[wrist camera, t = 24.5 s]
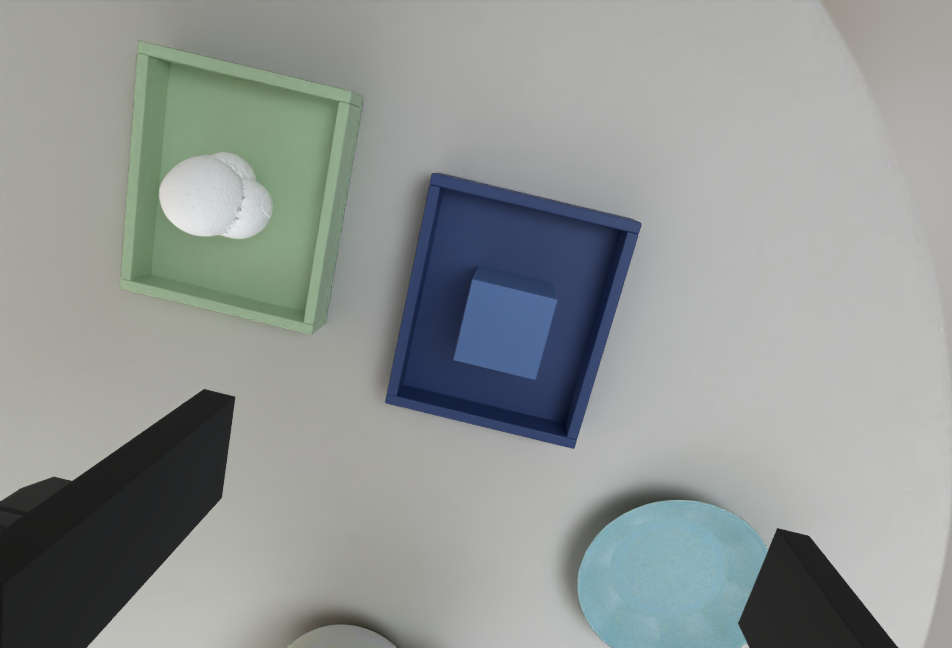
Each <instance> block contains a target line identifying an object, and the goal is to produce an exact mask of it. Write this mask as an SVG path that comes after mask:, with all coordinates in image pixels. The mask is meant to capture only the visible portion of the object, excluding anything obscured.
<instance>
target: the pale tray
mask: <svg viewBox="0 0 952 648" xmlns="http://www.w3.org/2000/svg"><path fill="white" fill-rule="evenodd" d="M363 99H364V97H363V96H360V95H358V94H356V93H354V92H352V91H349V90H344V89H340V88H336V87H332V86H328V85H323V84H319V83H315V82H311V81H307V80H302V79H298V78H294V77H290V76H286V75H281V74H277V73H273V72H269V71H265V70H260V69H256V68H252V67H248V66H244V65H239V64H235V63H231V62H227V61H223V60H218V59H214V58H210V57H206V56H202V55H197V54H193V53H189V52H185V51H181V50H176V49H172V48H168V47H164V46H160V45H156V44H151V43H147V42H143V41H138V54H137V65H136V79H135V92H134V105H133V118H132V132H131V145H130V158H129V172H128V185H127V198H126V212H125V225H124V238H123V252H122V265H121V280H120V288H121V289H125V290H129V291H133V292H138V293H142V294H146V295H150V296H154V297H158V298H162V299H167V300H171V301H175V302H179V303H183V304H187V305H191V306H196V307H200V308H204V309H208V310H212V311H216V312H220V313H224V314H229V315H233V316H237V317H241V318H245V319H249V320H253V321H258V322H262V323H266V324H270V325H274V326H278V327H282V328H287V329H291V330H295V331H299V332H303V333H307V334H313V333H314V332H315V331H317V330H318V329H319V328H320V327H322V326H323V325H324V324H325V322H326V317H327V311H328V305H329V299H330V293H331V287H332V281H333V275H334V270H335V264H336V258H337V252H338V246H339V240H340V234H341V228H342V223H343V217H344V211H345V205H346V199H347V193H348V187H349V181H350V175H351V170H352V164H353V158H354V152H355V146H356V140H357V134H358V128H359V123H360V117H361V111H362V105H363ZM219 152H229V153H232V154H235V155H238V156H239V157H241V158H242V159H244V160H245V161H246V162H247V163H248V164H249V165H250V166H251V168H252V169H253V171H254V173H255V176H256V181H257V182H258V183H260V184H261V185H262V186H264V188H265V189H266V190H267V191H268V192H269V194H270V196H271V199H272V202H273V212H272V216H271V218H270V220H269V222H268V224H267V225H266V226H265V228H264V229H263V230H262V231H260V232H259V233H257V234H256V235H254V236H252V237H249V238H245V239H233V238H229V237H225V236H222V235H214V236H196V235H192V234H189V233H186V232H184V231H182V230H181V229H179V228H178V227H176V226H175V225H174V224H173V223H172V222H171V221H169V219H168V218H167V217H166V215H165V213H164V211H163V209H162V207H161V203H160V199H159V189H160V185H161V183H162V181H163V179H164V177H165V176H166V175H167V173H168V172H169V171H170V170H171V169H173V168H174V167H175V166H176V165H177V164H179V163H181V162H182V161H184V160H186V159H189V158H191V157H195V156H202V155H212V154H215V153H219ZM267 229H268V230H267Z"/></svg>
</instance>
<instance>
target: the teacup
mask: <svg viewBox="0 0 952 648" xmlns="http://www.w3.org/2000/svg"><path fill="white" fill-rule="evenodd" d="M287 648H396V647H395V646H394V645H393V644H392V643H391V642H390V641H388V640H387V639H386V638H384V637H383V636H381V635H379V634H378V633H375V632H373V631H371V630H368V629H365V628H362V627H359V626H353V625H329V626H323V627H320V628H317V629H314V630H312V631H310V632H307V633H306V634H304V635H302V636H301V637H299V638H298V639H296V640H295V641H294V642H293V643H291V644H290V645H289V646H288V647H287Z"/></svg>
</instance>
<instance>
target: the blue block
mask: <svg viewBox="0 0 952 648" xmlns="http://www.w3.org/2000/svg"><path fill="white" fill-rule="evenodd" d="M557 301H558V300H557V297H556V293H555V290H554V287H553V284H552V283H548V282H544V281H540V280H536V279H532V278H528V277H524V276H519V275H515V274H511V273H507V272H503V271H499V270H495V269H490V268H486V267H482V266H478V267H477V269H476V272H475V274H474V276H473V279H472V282H471V286H470V291H469V295H468V299H467V303H466V308H465V312H464V316H463V320H462V325H461V329H460V333H459V338H458V342H457V346H456V350H455V355H454V360H456V361H460V362H464V363H468V364H472V365H476V366H480V367H484V368H489V369H493V370H497V371H501V372H505V373H509V374H513V375H517V376H521V377H526V378H530V379H534V380H535V379H536V377H537V374H538V370H539V366H540V363H541V359H542V355H543V352H544V348H545V344H546V341H547V337H548V334H549V330H550V326H551V323H552V319H553V315H554V312H555V308H556V304H557Z"/></svg>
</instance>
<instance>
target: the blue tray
mask: <svg viewBox="0 0 952 648" xmlns="http://www.w3.org/2000/svg"><path fill="white" fill-rule="evenodd" d="M430 184H431V185H430V186H429V190H428V195H427V200H426V205H425V210H424V215H423V219H422V224H421V229H420V234H419V239H418V244H417V249H416V254H415V259H414V263H413V268H412V273H411V278H410V283H409V288H408V293H407V298H406V303H405V307H404V312H403V317H402V322H401V327H400V332H399V337H398V342H397V347H396V351H395V356H394V361H393V366H392V371H391V376H390V381H389V386H388V391H387V395H386V400H385V403H387V404H391V405H395V406H399V407H404V408H408V409H412V410H416V411H420V412H424V413H428V414H432V415H437V416H441V417H445V418H449V419H453V420H457V421H461V422H466V423H470V424H474V425H478V426H482V427H486V428H490V429H494V430H499V431H503V432H507V433H511V434H515V435H519V436H523V437H527V438H532V439H536V440H540V441H544V442H548V443H552V444H556V445H560V446H565V447H569V448H573V449H574V448H575V444H576V441H577V438H578V434H579V431H580V428H581V424H582V421H583V418H584V414H585V411H586V408H587V404H588V401H589V398H590V394H591V391H592V388H593V384H594V381H595V378H596V374H597V371H598V368H599V365H600V361H601V358H602V355H603V351H604V348H605V345H606V341H607V338H608V335H609V331H610V328H611V325H612V321H613V318H614V315H615V311H616V308H617V305H618V301H619V298H620V295H621V291H622V288H623V285H624V281H625V278H626V275H627V271H628V268H629V265H630V261H631V258H632V255H633V251H634V248H635V245H636V241H637V238H638V234H639V231H640V228H641V225H642V224H641V223H640V222H638V221H636V220H633V219H630V218H626V217H622V216H618V215H613V214H609V213H605V212H601V211H597V210H592V209H588V208H584V207H580V206H576V205H572V204H567V203H563V202H559V201H555V200H551V199H546V198H542V197H538V196H534V195H530V194H526V193H521V192H517V191H513V190H509V189H505V188H500V187H496V186H492V185H488V184H484V183H480V182H475V181H471V180H467V179H463V178H459V177H454V176H450V175H446V174H442V173H432V175H431V180H430ZM478 266H482V267H486V268H490V269H495V270H499V271H503V272H507V273H511V274H515V275H519V276H524V277H528V278H532V279H536V280H540V281H544V282H548V283H552V284H553V287H554V290H555V293H556V297H557V300H558V301H557V304H556V308H555V312H554V315H553V319H552V323H551V326H550V330H549V334H548V337H547V341H546V344H545V348H544V352H543V355H542V359H541V363H540V366H539V370H538V374H537V377H536V379H535V380H534V379H530V378H526V377H521V376H517V375H513V374H509V373H505V372H501V371H497V370H493V369H489V368H484V367H480V366H476V365H472V364H468V363H464V362H460V361H456V360H454V355H455V350H456V346H457V342H458V338H459V333H460V329H461V325H462V320H463V316H464V312H465V308H466V303H467V299H468V295H469V291H470V286H471V282H472V279H473V276H474V274H475V272H476V269H477V267H478Z"/></svg>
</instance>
